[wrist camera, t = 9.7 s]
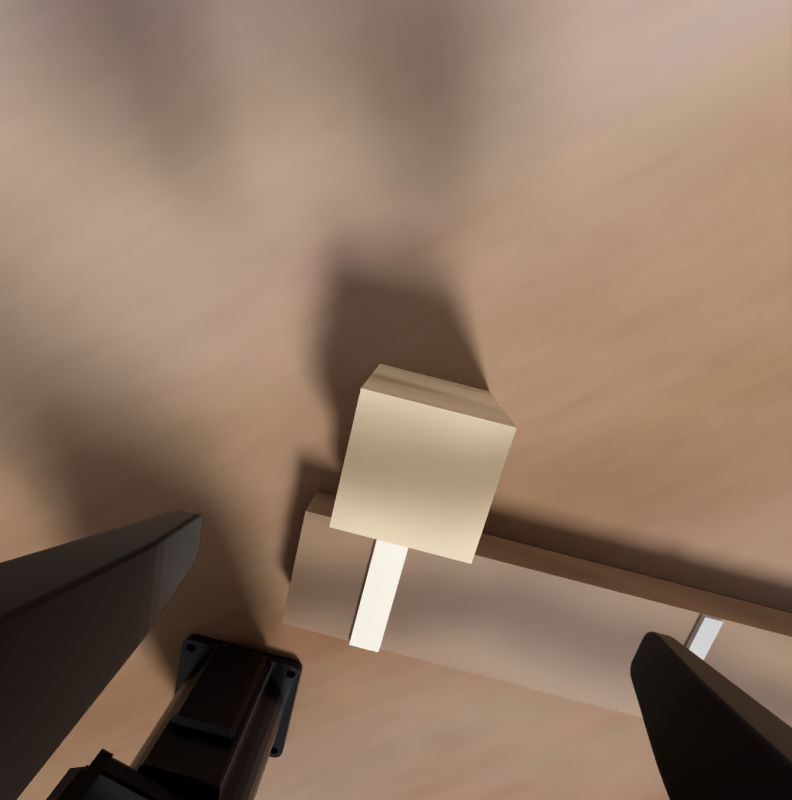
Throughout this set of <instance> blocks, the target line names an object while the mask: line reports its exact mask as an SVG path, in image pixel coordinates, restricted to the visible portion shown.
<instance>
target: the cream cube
mask: <svg viewBox="0 0 792 800" xmlns="http://www.w3.org/2000/svg"><path fill="white" fill-rule="evenodd" d="M515 431H516V426H515V425H514V424H513V422H512V421H511V420H510V418H509V417H508V416H507V414H506V413H505V411H504V410H503V409H502V407H501V406H500V405H499V403H498V402H497V401H496V399H495V398H494V397H493V395H492V394H491V393H490V391H486V390H482V389H478V388H474V387H470V386H466V385H462V384H458V383H454V382H451V381H447V380H443V379H439V378H435V377H431V376H427V375H423V374H419V373H415V372H411V371H407V370H403V369H399V368H395V367H391V366H387V365H383V364H379V365H378V367H377V368H376V369H375V371H374V372H373V373H372V374H371V376H370V377H369V378H368V380H367V381H366V382H365V384H364V385H363V386H362V387H361V390H360V394H359V399H358V403H357V408H356V412H355V416H354V421H353V425H352V429H351V434H350V438H349V443H348V447H347V451H346V456H345V460H344V464H343V469H342V473H341V478H340V482H339V486H338V491H337V495H336V500H335V504H334V508H333V513H332V517H331V521H330V526H329V527H331V528H334V529H338V530H342V531H346V532H350V533H354V534H358V535H361V536H365V537H369V538H373V539H377V540H381V541H385V542H389V543H392V544H396V545H400V546H404V547H408V548H412V549H416V550H419V551H423V552H427V553H431V554H435V555H439V556H443V557H446V558H450V559H454V560H458V561H462V562H466V563H470V564H472V561H473V558H474V555H475V552H476V549H477V546H478V543H479V540H480V537H481V534H482V531H483V528H484V525H485V522H486V519H487V516H488V513H489V509H490V506H491V503H492V500H493V497H494V494H495V491H496V488H497V485H498V482H499V479H500V476H501V473H502V470H503V467H504V464H505V461H506V458H507V455H508V452H509V449H510V446H511V443H512V440H513V437H514V434H515Z"/></svg>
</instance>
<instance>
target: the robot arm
mask: <svg viewBox="0 0 792 800" xmlns="http://www.w3.org/2000/svg"><path fill="white" fill-rule="evenodd" d="M202 524H203V518H202V515H201V514H200V513H196V512H192V511H189V510H185V509H180V510H176V511H173V512H169V513H166V514H163V515H159V516H156V517H153V518H149V519H146V520H143V521H139V522H136V523H133V524H129V525H126V526H123V527H119V528H116V529H112V530H109V531H106V532H102V533H99V534H96V535H92V536H89V537H86V538H82V539H79V540H76V541H72V542H69V543H65V544H62V545H59V546H55V547H52V548H49V549H45V550H42V551H39V552H35V553H32V554H29V555H25V556H22V557H18V558H15V559H12V560H8V561H5V562H2V563H0V800H17V798H18V797H19V796H20V794H21V793H22V792H23V791H24V789H25V788H26V787H27V786H28V784H29V783H30V782H31V781H32V779H33V778H34V777H35V776H36V774H37V773H38V772H39V771H40V769H41V768H42V767H43V765H44V764H45V763H46V762H47V760H48V759H49V758H50V757H51V755H52V754H53V753H54V752H55V750H56V749H57V748H58V747H59V745H60V744H61V743H62V741H63V740H64V739H65V738H66V736H67V735H68V734H69V733H70V731H71V730H72V729H73V728H74V726H75V725H76V724H77V723H78V721H79V720H80V719H81V718H82V716H83V715H84V714H85V712H86V711H87V710H88V709H89V707H90V706H91V705H92V704H93V702H94V701H95V700H96V699H97V697H98V696H99V695H100V694H101V692H102V691H103V690H104V688H105V687H106V686H107V685H108V683H109V682H110V681H111V680H112V678H113V677H114V676H115V675H116V673H117V672H118V671H119V670H120V668H121V667H122V666H123V665H124V663H125V662H126V661H127V659H128V658H129V657H130V656H131V654H132V653H133V652H134V651H135V649H136V648H137V647H138V646H139V644H140V643H141V642H142V640H143V639H144V638H145V636H146V635H147V634H148V632H149V631H150V629H151V628H152V626H153V625H154V623H155V622H156V620H157V619H158V617H159V616H160V614H161V613H162V611H163V609H164V608H165V606H166V605H167V603H168V602H169V600H170V599H171V597H172V596H173V594H174V592H175V591H176V589H177V588H178V586H179V585H180V583H181V582H182V580H183V579H184V577H185V575H186V574H187V572H188V571H189V569H190V568H191V566H192V565H193V563H194V561H195V559H196V557H197V554H198V551H199V545H200V538H201V531H202ZM192 644H193V645H192ZM290 670H292V671H290ZM301 672H302V666H301V664H300V663H299V662H297V661H295V660H291V659H288V658H284V657H280V656H276V655H272V654H269V653H265V652H261V651H257V650H253V649H250V648H246V647H242V646H238V645H234V644H231V643H227V642H223V641H219V640H216V639H212V638H208V637H204V636H200V635H197V634H191V635H189V636H188V637H187V638H186V640H185V641H184V642H183V645H182V650H181V657H180V664H179V671H178V678H177V685H176V692H175V696H174V698H173V699H172V701H171V703H170V704H169V706H168V707H167V709H166V710H165V712H164V713H163V715H162V717H161V718H160V720H159V721H158V723H157V724H156V726H155V728H154V729H153V731H152V732H151V734H150V735H149V737H148V738H147V740H146V742H145V743H144V745H143V746H142V748H141V749H140V751H139V753H138V754H137V756H136V757H135V759H134V760H133V762H132V763H131V765H130V767H129V766H127V765H126V764H124V763H122V762H120V761H118V760H116V759H114V758H113V755H114V754H112V753H110V752H108V751H106V750H105V749H102V750H101V751H100V752H99V754H98V755H97V756H96V758H95V759H94V760H93V761H92V763H91V764H90V765H89V766H88V765H86V766H85V767H77V768H70V769H69V770H68V772H67V773H66V774H65V776H64V777H63V778H62V780H61V781H60V782H59V784H58V785H57V786H56V787H55V789H54V790H53V791H52V793H51V794H50V795H49V797H48V798H47V799H46V800H254V798H255V795H256V793H257V790H258V787H259V784H260V781H261V778H262V775H263V772H264V769H265V766H266V764H267V761H268V758H269V756H270V757H279V756H280V755H281V754H282V752H283V748H284V745H285V741H286V737H287V732H288V728H289V724H290V720H291V715H292V711H293V707H294V702H295V698H296V694H297V689H298V685H299V681H300V677H301ZM630 675H631V680H632V683H633V687H634V690H635V693H636V697H637V700H638V703H639V707H640V710H641V714H642V717H643V720H644V724H645V727H646V730H647V734H648V737H649V740H650V744H651V747H652V750H653V754H654V757H655V760H656V763H657V766H658V769H659V772H660V775H661V778H662V780H663V783H664V786H665V788H666V791H667V794H668V796H669V799H670V800H792V727H790V726H789V725H788V724H786V723H785V722H784V721H782V720H781V719H780V718H779V717H777V716H776V715H775V714H773V713H772V712H771V711H769V710H768V709H767V708H765V707H764V706H763V705H761V704H760V703H759V702H757V701H756V700H755V699H754V698H752V697H751V696H750V695H748V694H747V693H746V692H744V691H743V690H742V689H740V688H739V687H738V686H736V685H735V684H734V683H732V682H731V681H730V680H729V679H727V678H726V677H725V676H723V675H722V674H721V673H719V672H718V671H717V670H715V669H714V668H713V667H711V666H710V665H709V664H707V663H706V662H705V661H704V660H702V659H701V658H700V657H698V656H697V655H696V654H694V653H693V652H692V651H690V650H689V649H688V648H686V647H685V646H684V645H682V644H681V643H680V642H679V641H677V640H676V639H674V638H673V637H671V636H669V635H665V634H661V633H657V632H653V631H651V632H647V633H646V634H645V635H644V637H643V639H642V641H641V643H640V645H639V647H638V649H637V651H636V653H635V655H634V658H633V660H632V662H631V666H630Z"/></svg>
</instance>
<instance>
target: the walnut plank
mask: <svg viewBox="0 0 792 800" xmlns="http://www.w3.org/2000/svg"><path fill="white" fill-rule="evenodd" d="M335 500H336V495H332V494H329V493H325V492H321V491H317V492H316V494H315V495H314V497H313V499H312V501H311V502H310V504H309V506H308V507H307V509H306V511H305V516H304V520H303V525H302V530H301V535H300V539H299V544H298V549H297V554H296V558H295V563H294V568H293V572H292V577H291V582H290V587H289V591H288V596H287V601H286V606H285V610H284V615H283V620H282V624H286V625H290V626H294V627H297V628H301V629H305V630H309V631H313V632H317V633H320V634H324V635H328V636H332V637H336V638H339V639H343V640H347V641H350V643H349V645H352V646H356V647H360V648H364V649H367V650H371V651H375V652H379V649H381V650H385V651H389V652H393V653H397V654H400V655H404V656H408V657H412V658H416V659H419V660H423V661H427V662H431V663H435V664H438V665H442V666H446V667H450V668H454V669H458V670H461V671H465V672H469V673H473V674H477V675H480V676H484V677H488V678H492V679H496V680H499V681H503V682H507V683H511V684H515V685H519V686H522V687H526V688H530V689H534V690H538V691H541V692H545V693H549V694H553V695H557V696H560V697H564V698H568V699H572V700H576V701H579V702H583V703H587V704H591V705H595V706H599V707H602V708H606V709H610V710H614V711H618V712H621V713H625V714H629V715H633V716H637V717H640V718H643V717H642V714H641V710H640V707H639V703H638V700H637V697H636V693H635V690H634V687H633V683H632V680H631V675H630V666H631V662H632V660H633V658H634V655H635V653H636V651H637V649H638V647H639V645H640V643H641V641H642V639H643V637H644V635H645V634H646V633H647V632H651V631H653V632H657V633H661V634H665V635H669V636H671V637H673V638H674V639H676V640H677V641H679V642H680V643H681V644H682V645H684V646H685V647H686V648H688V649H689V650H690V651H692V652H693V653H694V654H696V655H697V656H698V657H700V658H701V659H702V660H704V661H705V662H706V663H707V664H709V665H710V666H711V667H713V668H714V669H715V670H717V671H718V672H719V673H721V674H722V675H723V676H725V677H726V678H727V679H729V680H730V681H731V682H732V683H734V684H735V685H736V686H738V687H739V688H740V689H742V690H743V691H744V692H746V693H747V694H748V695H750V696H751V697H752V698H754V699H755V700H756V701H757V702H759V703H760V704H761V705H763V706H764V707H765V708H767V709H768V710H769V711H771V712H772V713H773V714H775V715H776V716H777V717H779V718H780V719H781V720H782V721H784V722H785V723H786V724H788V725H789V726H790V727H792V613H789V612H785V611H782V610H778V609H774V608H770V607H766V606H762V605H758V604H754V603H751V602H747V601H743V600H739V599H735V598H731V597H727V596H723V595H720V594H716V593H712V592H708V591H704V590H700V589H696V588H692V587H689V586H685V585H681V584H677V583H673V582H669V581H665V580H662V579H658V578H654V577H650V576H646V575H642V574H638V573H634V572H631V571H627V570H623V569H619V568H615V567H611V566H607V565H603V564H600V563H596V562H592V561H588V560H584V559H580V558H576V557H572V556H569V555H565V554H561V553H557V552H553V551H549V550H545V549H542V548H538V547H534V546H530V545H526V544H522V543H518V542H514V541H511V540H507V539H503V538H499V537H495V536H491V535H487V534H483V533H482V534H481V537H480V540H479V543H478V546H477V549H476V552H475V555H474V558H473V561H472V564H470V563H466V562H462V561H458V560H454V559H450V558H446V557H443V556H439V555H435V554H431V553H427V552H423V551H419V550H416V549H412V548H408V547H404V546H400V545H396V544H392V543H389V542H385V541H381V540H377V539H373V538H369V537H365V536H361V535H358V534H354V533H350V532H346V531H342V530H338V529H334V528H331V527H329V526H330V521H331V517H332V513H333V508H334V504H335Z"/></svg>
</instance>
